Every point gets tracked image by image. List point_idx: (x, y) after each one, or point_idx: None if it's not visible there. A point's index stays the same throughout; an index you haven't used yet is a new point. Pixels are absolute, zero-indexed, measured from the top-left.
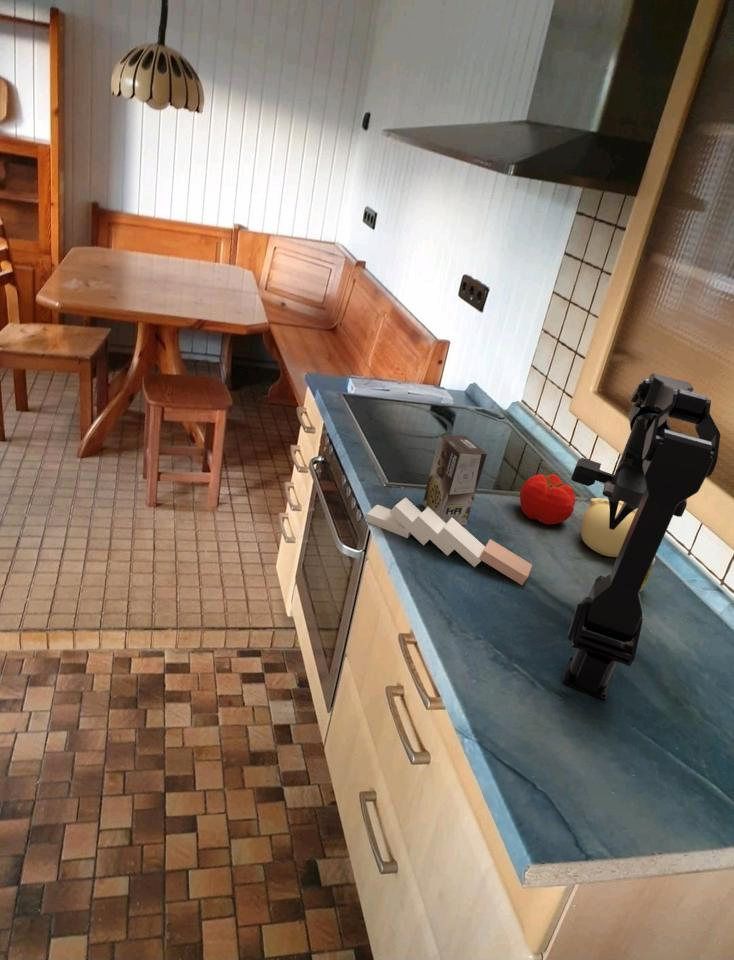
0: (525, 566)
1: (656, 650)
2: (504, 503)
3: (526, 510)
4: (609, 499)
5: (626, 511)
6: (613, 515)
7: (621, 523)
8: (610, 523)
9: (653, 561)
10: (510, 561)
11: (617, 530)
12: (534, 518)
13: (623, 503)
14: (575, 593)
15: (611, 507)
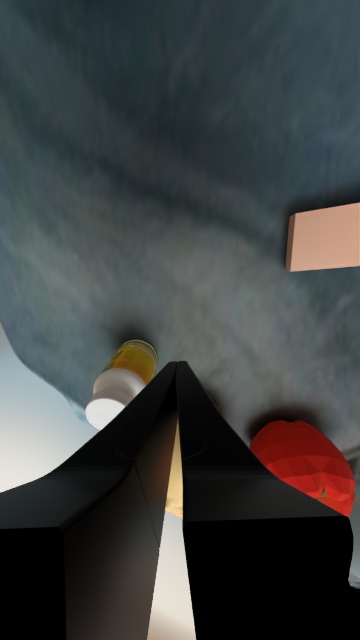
0: (305, 249)
1: (48, 203)
2: (337, 435)
3: (315, 428)
4: (301, 500)
5: (113, 440)
6: (187, 395)
7: (174, 459)
8: (187, 370)
9: (94, 386)
10: (346, 226)
11: (176, 440)
12: (294, 421)
13: (162, 513)
14: (198, 271)
15: (220, 430)
